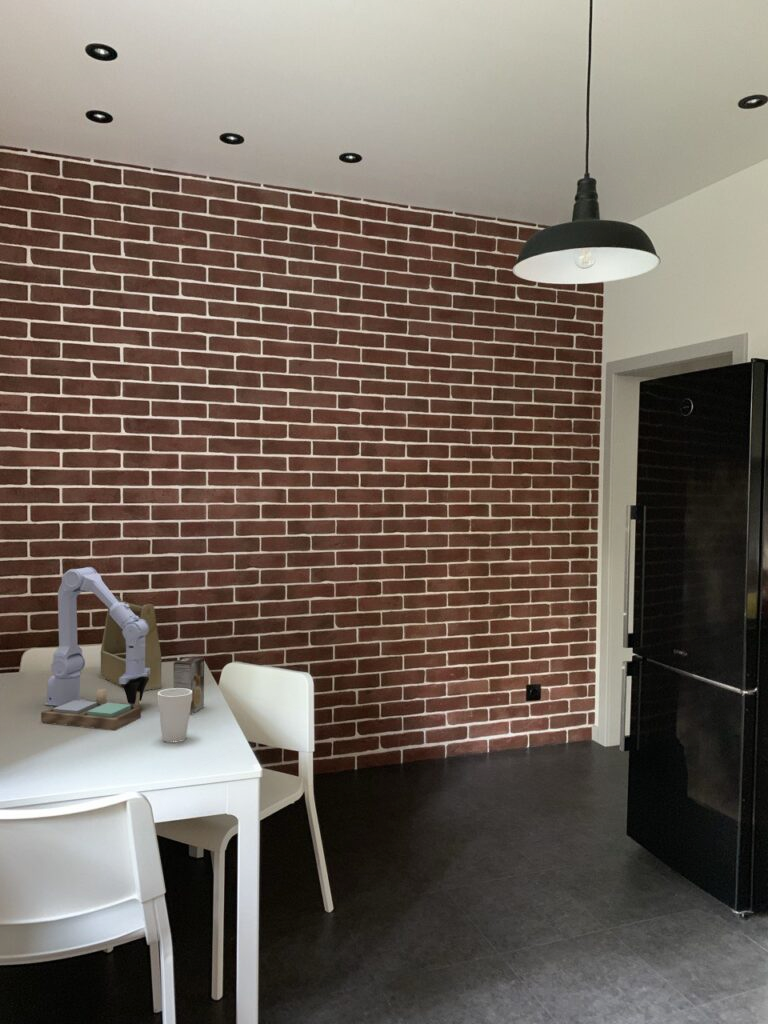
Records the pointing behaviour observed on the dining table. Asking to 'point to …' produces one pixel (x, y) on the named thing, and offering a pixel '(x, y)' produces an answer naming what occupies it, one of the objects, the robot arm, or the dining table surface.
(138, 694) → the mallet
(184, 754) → the dining table surface
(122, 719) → the tray
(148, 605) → the caddy
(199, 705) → the coffee box
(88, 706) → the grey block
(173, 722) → the foam cup
